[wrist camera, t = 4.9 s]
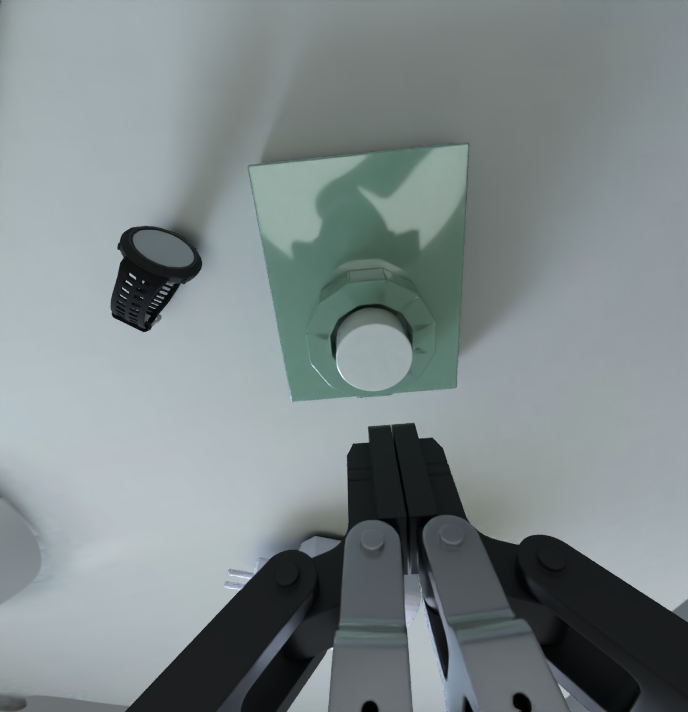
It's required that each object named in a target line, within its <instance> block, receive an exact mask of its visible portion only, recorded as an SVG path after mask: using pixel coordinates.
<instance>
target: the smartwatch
mask: <svg viewBox="0 0 688 712" xmlns="http://www.w3.org/2000/svg"><path fill="white" fill-rule="evenodd" d="M117 249H118V250H120V251H121V253H122V255H123V257H124V258H123V260H122V261H121V263H120V267H119V272H118V276H117V280H116V283H115V287H114V290H113V294H112V298H111V311H112V316H113V317H114V318H116V319H118V320H120V321H122V322H124V323H126V324H128V325H130V326H132V327H134V328H136V329H138V330H140V331H142V332H147V331H149V330H150V329H151V328H152V326H153V325H155V324H156V323H158V322H159V321H160V320H161V315H160V314H159V313H160V312H161V311H162V310H163V308H164V307H165V306H166V305H167V304H168V302H169V301H170V300H171V298H172V297H173V295H174V294H175V292H176V290H177V289H178V287H179V286H180V284H181V283H182V284H185V283H186V282H187V281H190V280H191V279H193V278H194V277H195V276H196V275H197V274H198V273H199V271H200V270H201V267H202V261H201V257H200V256H199V254H198V252H197V251H196V248H194V247H193V246H192V245H191V244H190V243H189V242H188V241H187V240H186V239H185V238H183V237H182V236H180V235H178V234H177V233H175V232H172V231H169V230H166V229H163V228H159V227H152V226H141V227H133V228H130V229H128V230H127V231H125V232H124V233H123V234H122V236H121V239H120V243H118V247H117ZM129 273H131V274H132V275H134V276H135V277H136V280H135V279H134V278H132V277H131V276H129ZM126 280H127V281H128V282H130V283H131V284H133V285H132V286H131V285H129V284H128V283H126ZM142 281H145V282H144V283H142ZM167 283H171V284H173V286H169V285H166V284H167ZM163 286H165V287H168V288H171V290H170V291H167V290H165V289H163V288H162V287H163ZM122 287H123V288H124V289H126V290H127V291H129V294H128V293H127V292H125V291H124V290H123V289H122ZM160 291H164V292H167V293H168V294H167V295H164V294H161V293H159V292H160ZM120 294H121V295H122V296H124V297H125V298H127V299H124V298H123V297H121V296H120ZM157 295H158V296H161V297H164V299H161V298H158V297H156V296H157ZM140 297H142V298H143V299H142V298H140ZM154 299H156V300H158V301H161V302H162V303H159V302H157V301H154ZM119 301H120V302H119ZM121 302H122V303H121ZM151 303H155V304H157V305H159V306H156V305H154V304H151ZM149 306H151V307H153V308H156V309H153V308H151V307H149ZM136 310H139V311H136ZM150 316H151V317H150ZM156 318H157V319H156ZM155 319H156V320H155ZM147 320H148V321H147Z"/></svg>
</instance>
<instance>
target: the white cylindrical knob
mask: <svg viewBox="0 0 688 712" xmlns="http://www.w3.org/2000/svg"><path fill="white" fill-rule="evenodd" d="M412 360H413V352H412V347H411V344H410V341H409V339H408V336H407V333H406V330H405V328H404V325H403V324H402V322H401V321H400V319H399V318H398V317H397V316H396V315H394V314H393V313H391V312H389V311H387V310H384V309H381V308H364V309H361V310H358V311H356V312H354V313H352V314H350V315H349V316H348V317H347V318H346V319H345V320H344V321H343V322H342V323H341V325H340V327H339V329H338V332H337V336H336V364H337V368H338V371H339V372H340V374H341V376H342V377H343V378H344V379H345V380H346V381H347V382H348V383H349V384H351V385H352V386H354V387H356V388H359V389H362V390H366V391H379V390H384V389H387V388H390V387H392V386H394V385H395V384H397V383H398V382H400V381H401V380H402V379H403V378H404V377H405V376H406V374H407V373H408V371H409V369H410V367H411V364H412Z"/></svg>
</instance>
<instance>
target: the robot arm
mask: <svg viewBox="0 0 688 712" xmlns="http://www.w3.org/2000/svg"><path fill="white" fill-rule="evenodd" d="M368 433H369V443H357V444H353V445H352V447H351V449H350V451H349V453H348V455H347V470H348V471H347V475H348V519H349V523H348V530H347V533H346V535H345V537H344V538H343V540H342V541H341V542H340V543H339V544H338V545H337V546H336V547H334V548H333V549H331V550H329V551H327V552H325V553H322V554H320V555H317V556H315V557H312V558H311V557H310V556H309V555H308V554H306V553H304V552H302V551H298V550H287V551H283V552H280V553H278V554H276V555H275V556H273V557H272V558H271V559H270V560H268V561H267V562H266V564H265V565H264V566H263V567H262V568H261V569H260V570H259V571H258V572H257V573H256V574H255V575H254V576H253V577H252V578H251V579H250V580H249V581H248V583H247V584H246V585H245V586H244V587H243V588H242V589H241V590H240V591H239V592H238V593H237V594H236V595H235V596H234V597H233V598H232V599H231V600H230V602H229V603H228V604H227V605H226V606H225V607H224V608H223V609H222V610H221V611H220V612H219V613H218V614H217V615H216V616H215V617H214V618H213V619H212V621H211V622H210V623H209V624H208V625H207V626H206V627H205V628H204V629H203V630H202V631H201V632H200V633H199V634H198V635H197V636H196V637H195V638H194V640H193V641H192V642H191V643H190V644H189V645H188V646H187V647H186V648H185V649H184V650H183V651H182V652H181V653H180V654H179V655H178V656H177V657H176V659H175V660H174V661H173V662H172V663H171V664H170V665H169V666H168V667H167V668H166V669H165V670H164V671H163V672H162V673H161V674H160V675H159V676H158V678H157V679H156V680H155V681H154V682H153V683H152V684H151V685H150V686H149V687H148V688H147V689H146V690H145V691H144V692H143V693H142V694H141V695H140V697H139V698H138V699H137V700H136V701H135V702H134V703H133V704H132V705H131V706H130V707H129V708H128V709H127V710H126V711H125V712H287V710H288V709H289V707H290V706H291V704H292V703H293V701H294V700H295V699H296V697H297V696H298V694H299V693H300V691H301V690H302V688H303V687H304V685H305V684H306V682H307V681H308V679H309V678H310V676H311V675H312V673H313V672H314V671H315V669H316V668H317V666H318V665H319V663H320V662H321V660H322V659H323V657H324V656H325V654H326V652H327V650H328V649H330V648H332V647H333V656H332V668H331V681H330V694H329V706H328V712H413V708H412V693H411V679H410V664H409V650H408V637H407V629H406V616H405V584H404V575H408V563H409V569H410V574H419V576H420V582H421V587H422V605H423V609H424V613H425V617H426V621H427V625H428V629H429V633H430V637H431V641H432V645H433V649H434V653H435V657H436V660H437V664H438V668H439V672H440V676H441V680H442V685H443V689H444V695H445V702H446V710H447V712H571V711H570V709H569V707H568V705H567V702H566V700H565V698H564V696H563V694H562V692H561V690H560V687H559V685H558V683H559V684H560V685H561V686H562V687H563V688H564V689H565V690H566V691H567V692H569V693H570V694H571V695H572V696H573V697H574V698H575V699H576V700H577V701H579V702H580V703H581V704H582V705H583V706H584V707H585V708H586V709H587V710H588V711H589V712H688V622H686V621H685V620H683V619H682V618H680V617H679V616H677V615H676V614H674V613H672V612H671V611H669V610H668V609H666V608H665V607H663V606H662V605H660V604H659V603H657V602H656V601H654V600H652V599H651V598H649V597H648V596H646V595H645V594H643V593H642V592H640V591H639V590H637V589H635V588H634V587H632V586H631V585H629V584H628V583H626V582H625V581H623V580H622V579H620V578H619V577H617V576H615V575H614V574H612V573H611V572H609V571H608V570H606V569H605V568H603V567H602V566H600V565H598V564H597V563H595V562H594V561H592V560H591V559H589V558H588V557H586V556H585V555H583V554H582V553H580V552H578V551H577V550H575V549H574V548H572V547H571V546H569V545H568V544H566V543H564V542H563V541H561V540H559V539H557V538H554V537H551V536H547V535H532V536H529V537H527V538H525V539H524V540H523V541H522V542H521V543H520V544H519V545H516V544H512V543H508V542H503V541H499V540H495V539H492V538H489V537H487V536H485V535H483V534H482V533H480V532H479V531H477V530H476V529H475V528H474V527H473V526H472V525H471V524H470V522H469V521H468V519H467V517H466V515H465V512H464V509H463V506H462V504H461V501H460V498H459V495H458V492H457V489H456V486H455V483H454V480H453V477H452V475H451V471H450V468H449V465H448V464H447V459H446V456H445V453H444V450H443V448H442V447H441V446H440V445H439V444H438V443H437V442H436V441H435V440H434V439H433V438H422V439H419V438H418V434H417V431H416V427H415V424H414V423H406V424H393V425H392V432H391V427H390V425H382V426H369V427H368ZM557 682H558V683H557Z"/></svg>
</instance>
